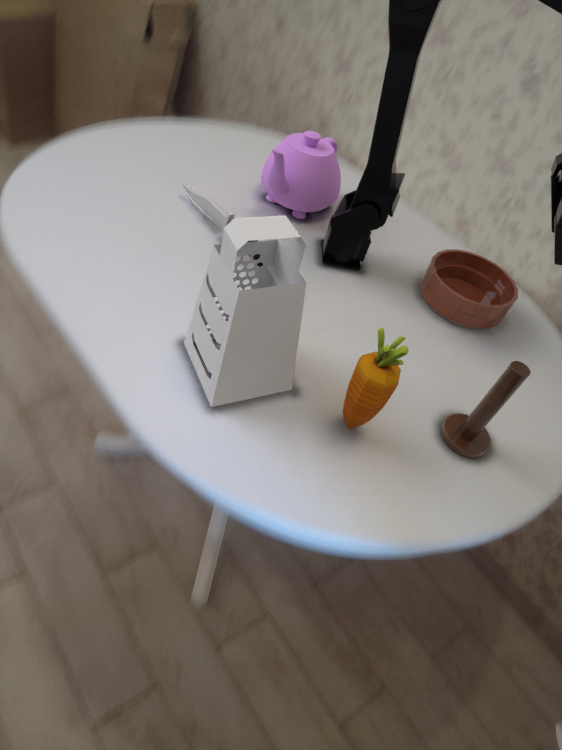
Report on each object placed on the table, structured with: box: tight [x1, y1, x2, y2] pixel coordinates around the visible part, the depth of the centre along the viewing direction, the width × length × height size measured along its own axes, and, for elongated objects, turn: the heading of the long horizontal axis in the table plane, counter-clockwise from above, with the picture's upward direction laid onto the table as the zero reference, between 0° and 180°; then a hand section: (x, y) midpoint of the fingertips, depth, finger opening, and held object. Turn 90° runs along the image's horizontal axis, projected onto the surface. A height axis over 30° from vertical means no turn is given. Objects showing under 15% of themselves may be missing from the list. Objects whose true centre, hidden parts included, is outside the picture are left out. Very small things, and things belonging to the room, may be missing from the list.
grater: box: [183, 215, 307, 408], centre depth 57 cm, size 10×10×20 cm
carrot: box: [342, 327, 409, 430], centre depth 56 cm, size 5×5×15 cm
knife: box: [181, 180, 263, 268], centre depth 80 cm, size 25×2×5 cm, turn 37°
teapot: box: [260, 130, 342, 220], centre depth 88 cm, size 20×14×12 cm
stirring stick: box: [440, 360, 532, 459], centre depth 59 cm, size 6×6×13 cm
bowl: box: [419, 248, 519, 330], centre depth 82 cm, size 14×14×5 cm
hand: (556, 247), depth 73 cm, fingers open, 9 cm apart
